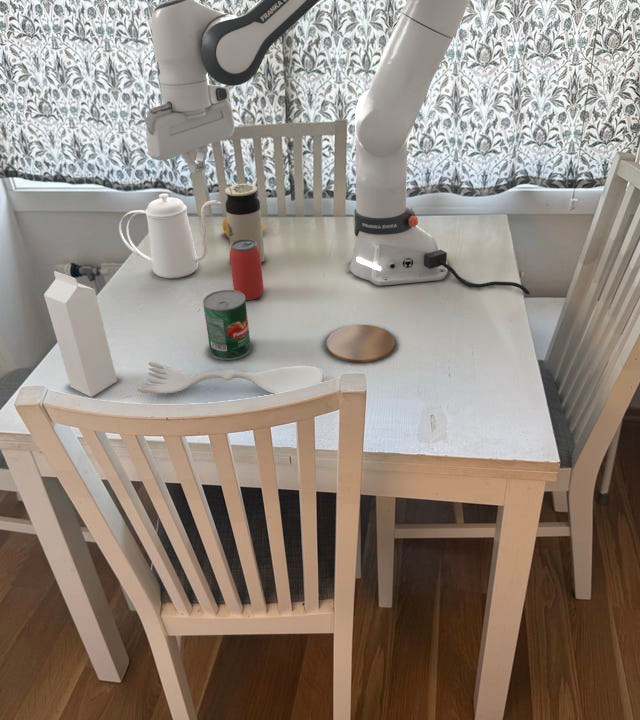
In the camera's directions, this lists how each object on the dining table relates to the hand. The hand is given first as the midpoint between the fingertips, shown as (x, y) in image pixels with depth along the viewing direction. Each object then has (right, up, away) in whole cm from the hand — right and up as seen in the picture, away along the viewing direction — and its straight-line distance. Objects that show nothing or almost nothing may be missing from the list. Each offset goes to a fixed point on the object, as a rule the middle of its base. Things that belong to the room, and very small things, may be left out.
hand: (197, 171), depth 133 cm
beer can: (+9, -23, +18) cm, 30 cm away
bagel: (+5, -4, +47) cm, 48 cm away
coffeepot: (-9, -16, +30) cm, 35 cm away
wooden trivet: (+32, -34, -3) cm, 47 cm away
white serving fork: (+8, -42, -13) cm, 45 cm away
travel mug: (+7, -13, +33) cm, 36 cm away
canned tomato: (+7, -35, -2) cm, 36 cm away
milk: (-17, -42, -9) cm, 46 cm away
